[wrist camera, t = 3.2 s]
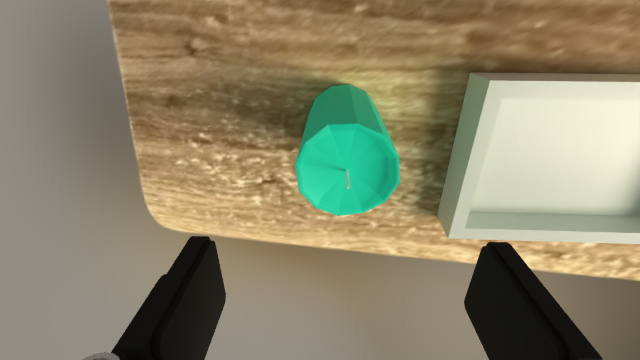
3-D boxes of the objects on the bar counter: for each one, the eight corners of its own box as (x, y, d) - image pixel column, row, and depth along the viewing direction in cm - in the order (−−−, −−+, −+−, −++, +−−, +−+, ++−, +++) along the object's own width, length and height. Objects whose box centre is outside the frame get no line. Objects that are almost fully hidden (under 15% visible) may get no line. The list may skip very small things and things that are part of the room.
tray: (469, 72, 24) (490, 80, 21) (731, 75, 23) (792, 83, 20) (436, 216, 31) (448, 238, 28) (639, 221, 30) (674, 244, 27)
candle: (384, 89, 25) (421, 142, 14) (369, 155, 28) (390, 239, 17) (313, 78, 25) (296, 124, 14) (304, 145, 28) (286, 225, 17)
